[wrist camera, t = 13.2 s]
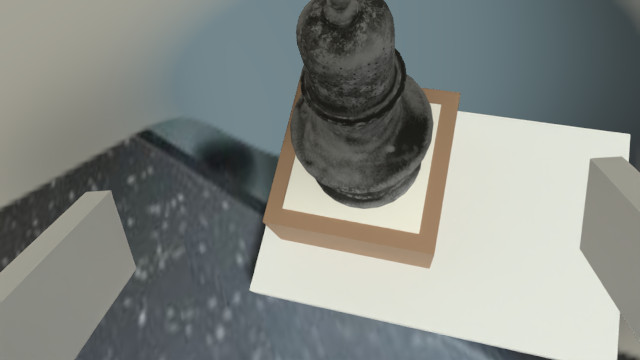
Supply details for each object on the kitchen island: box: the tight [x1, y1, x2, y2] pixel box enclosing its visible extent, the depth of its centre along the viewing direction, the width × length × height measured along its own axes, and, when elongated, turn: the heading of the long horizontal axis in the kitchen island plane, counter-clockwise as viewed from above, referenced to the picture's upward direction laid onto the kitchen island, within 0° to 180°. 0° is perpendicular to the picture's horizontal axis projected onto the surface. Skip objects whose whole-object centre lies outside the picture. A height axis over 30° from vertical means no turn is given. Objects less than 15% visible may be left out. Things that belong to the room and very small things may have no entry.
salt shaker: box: [290, 0, 434, 209], centre depth 19 cm, size 6×6×12 cm
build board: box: [250, 76, 630, 360], centre depth 26 cm, size 18×12×5 cm, turn 77°
